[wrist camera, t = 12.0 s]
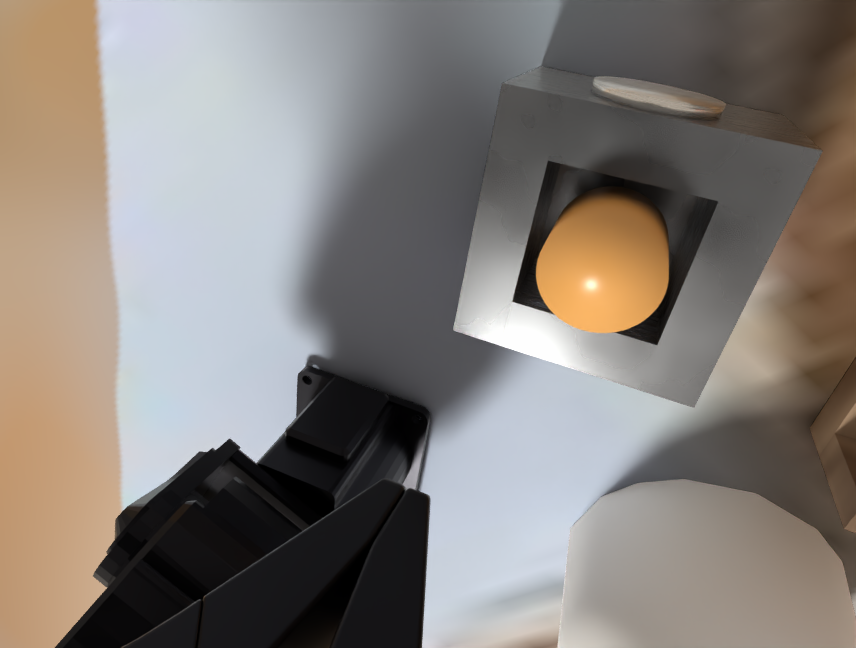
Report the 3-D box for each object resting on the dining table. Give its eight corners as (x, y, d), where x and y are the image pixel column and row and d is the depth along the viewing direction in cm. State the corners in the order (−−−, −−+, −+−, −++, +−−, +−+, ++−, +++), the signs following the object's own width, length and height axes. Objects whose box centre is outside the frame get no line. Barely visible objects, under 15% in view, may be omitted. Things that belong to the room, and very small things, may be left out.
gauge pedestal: (688, 324, 20) (694, 407, 16) (494, 268, 21) (453, 330, 17) (788, 103, 16) (830, 136, 12) (542, 55, 18) (505, 69, 13)
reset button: (647, 280, 17) (642, 348, 14) (551, 253, 18) (523, 312, 15) (684, 184, 16) (689, 234, 12) (577, 159, 17) (553, 199, 13)
